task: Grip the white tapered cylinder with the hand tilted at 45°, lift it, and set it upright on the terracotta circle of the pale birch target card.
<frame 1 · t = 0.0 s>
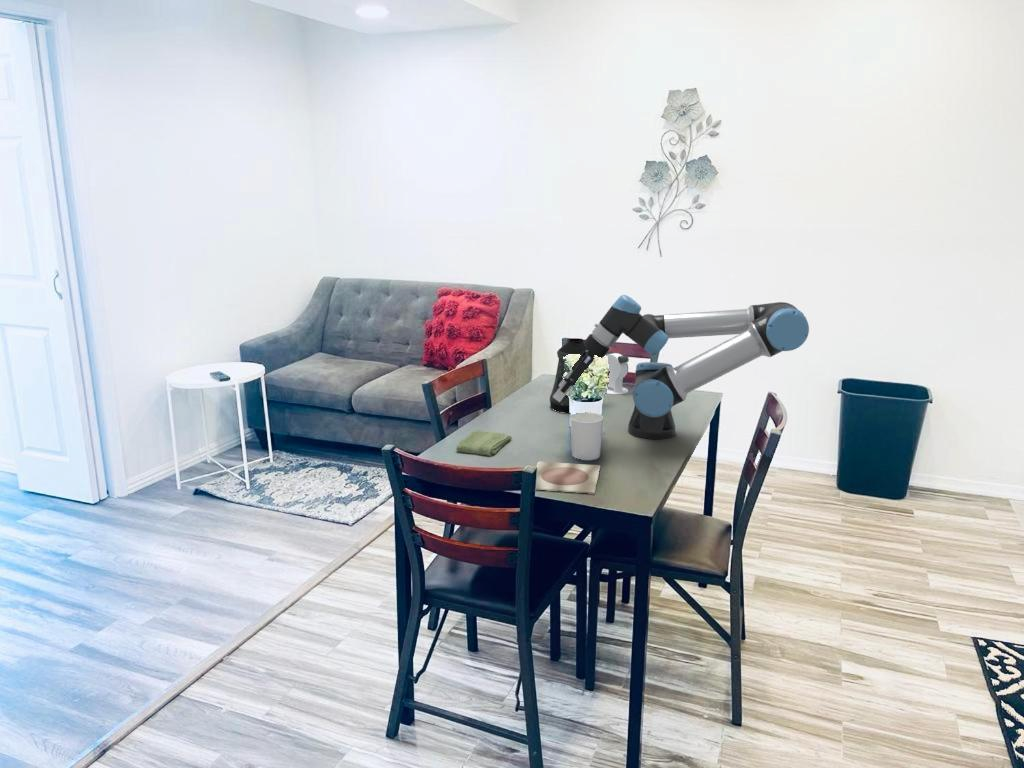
hand: (558, 393, 235), 15 cm above the table, tool tilted 35°, fingers open, 13 cm apart
black tall bulky piece: (574, 407, 276), on the table
washcloth: (483, 447, 235), on the table
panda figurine: (614, 391, 296), on the table
target card: (564, 478, 208), on the table
white tapered cylinder: (585, 456, 226), on the table
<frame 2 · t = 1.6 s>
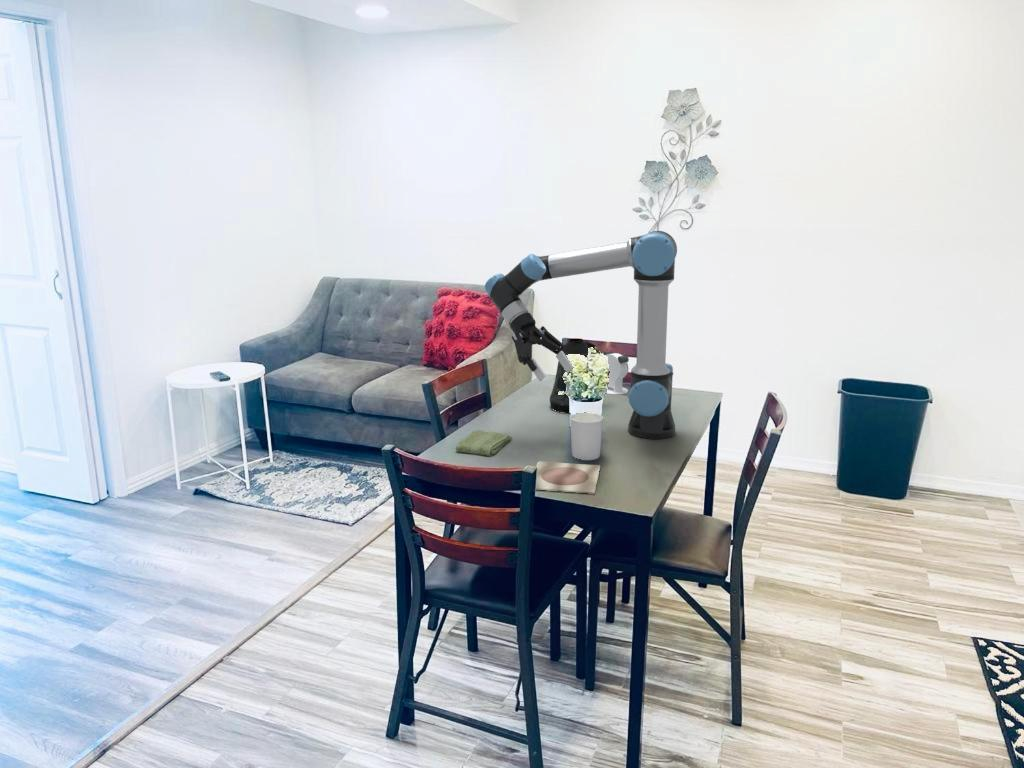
hand: (557, 374, 226), 23 cm above the table, tool tilted 45°, fingers open, 13 cm apart
nothing on the table moved.
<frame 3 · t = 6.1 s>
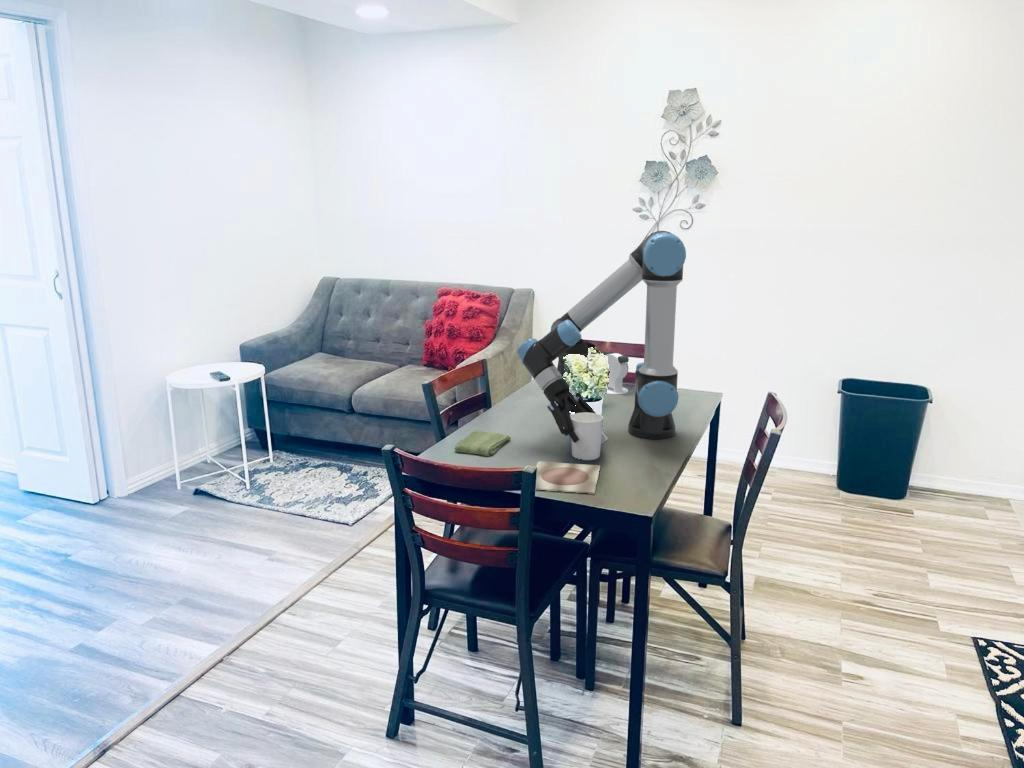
hand: (595, 445, 222), 4 cm above the table, tool tilted 45°, fingers closed on white tapered cylinder, 9 cm apart
white tapered cylinder: (585, 456, 225), on the table, touching gripper
everything else where it was.
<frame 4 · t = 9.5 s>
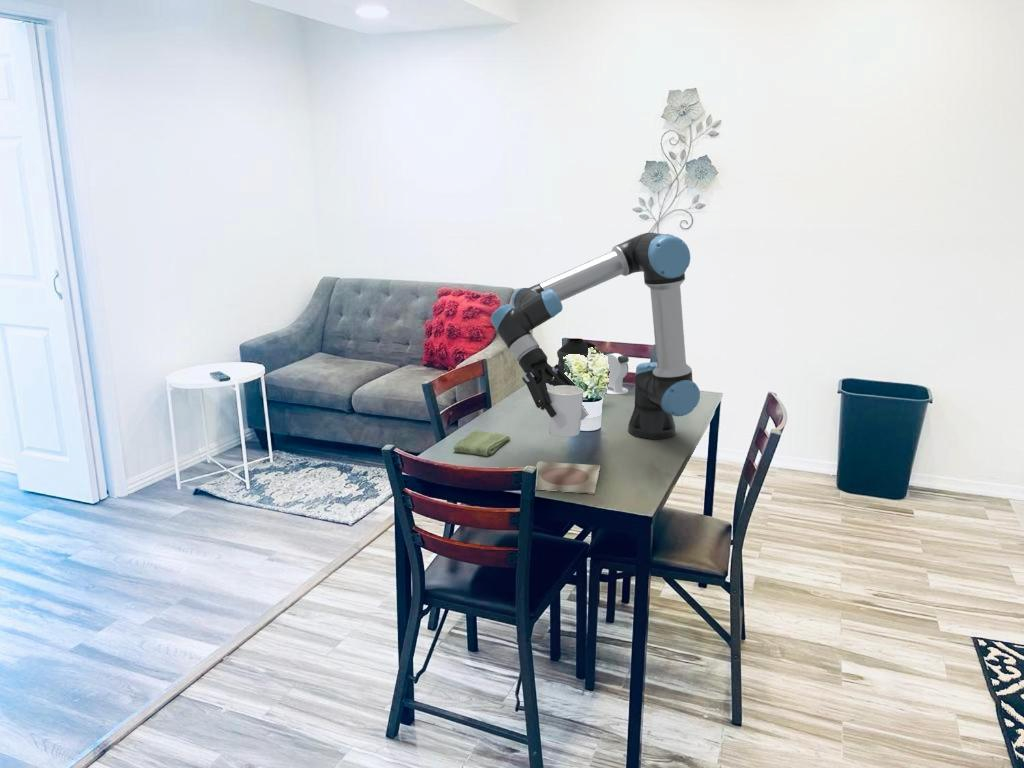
hand: (574, 421, 202), 17 cm above the table, tool tilted 45°, fingers closed on white tapered cylinder, 9 cm apart
white tapered cylinder: (564, 433, 205), point 13 cm above the table, touching gripper
everything else where it was.
when the fingers open (6 cm above the table, at t = 12.7 s): white tapered cylinder drops 1 cm, resting on target card.
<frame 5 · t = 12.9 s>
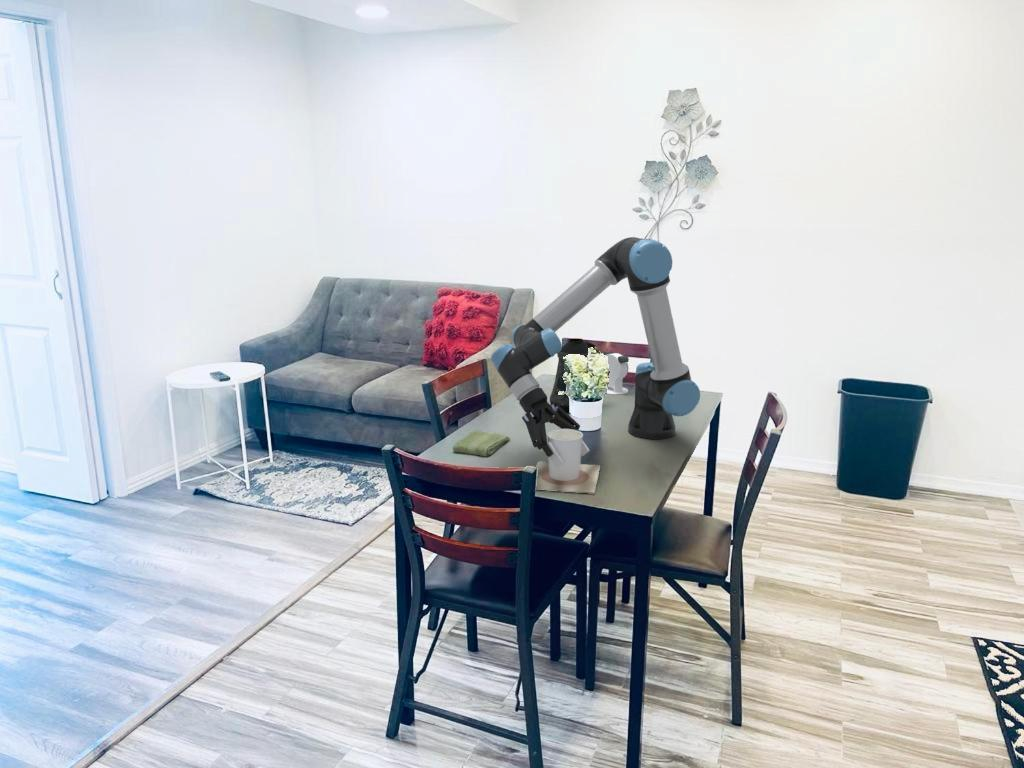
hand: (573, 459, 205), 6 cm above the table, tool tilted 45°, fingers open, 11 cm apart
white tapered cylinder: (564, 476, 208), point 1 cm above the table, touching target card
everything else where it was.
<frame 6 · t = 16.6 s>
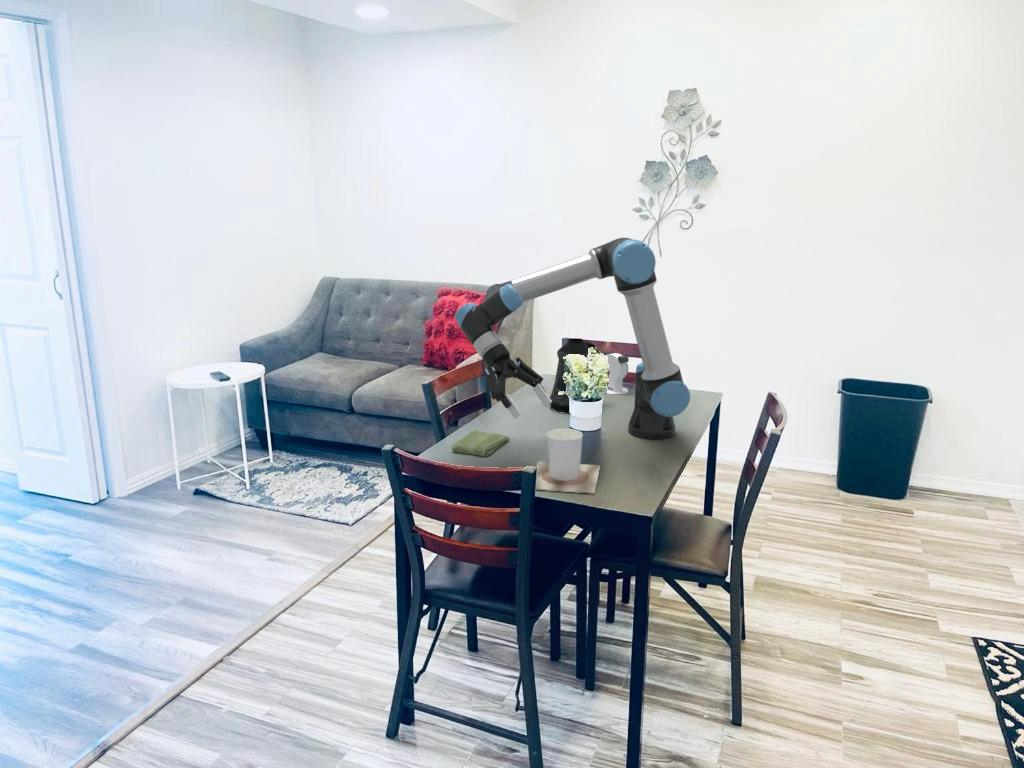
hand: (533, 410, 210), 17 cm above the table, tool tilted 45°, fingers open, 13 cm apart
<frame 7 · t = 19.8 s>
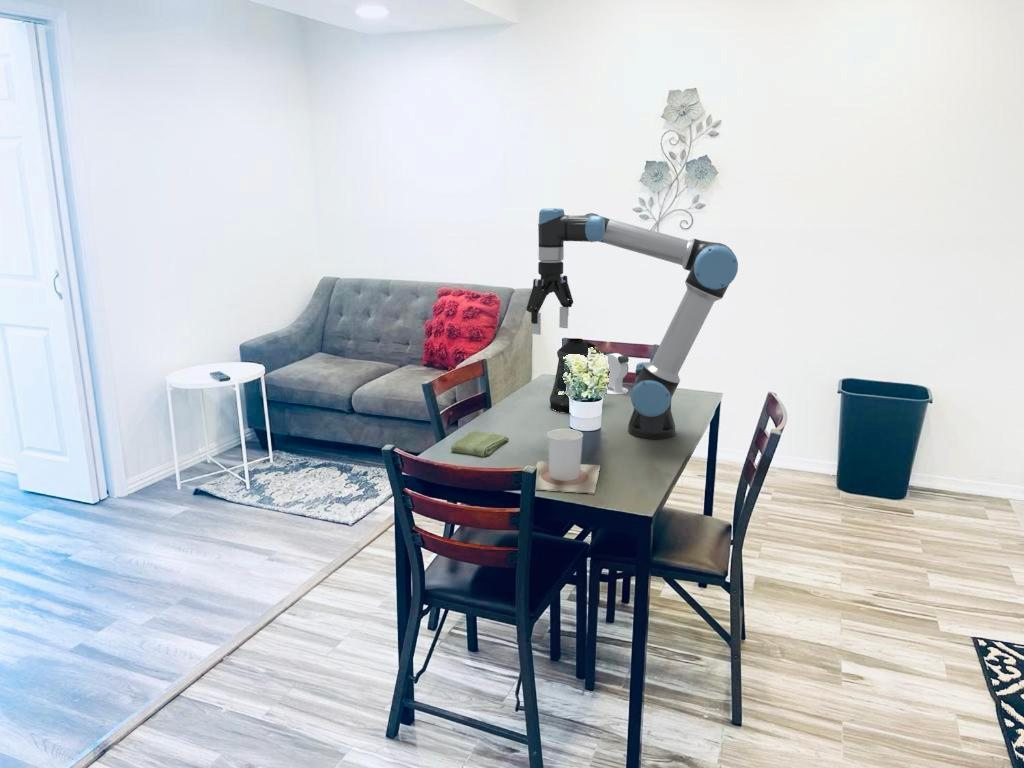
hand: (550, 331, 232), 35 cm above the table, tool pointing down, fingers open, 13 cm apart
at the end: white tapered cylinder inside the target area on the target card (0.2 cm from its centre), point 0.5 cm above the target card's base; white tapered cylinder tilted 0°; the gripper is holding nothing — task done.
